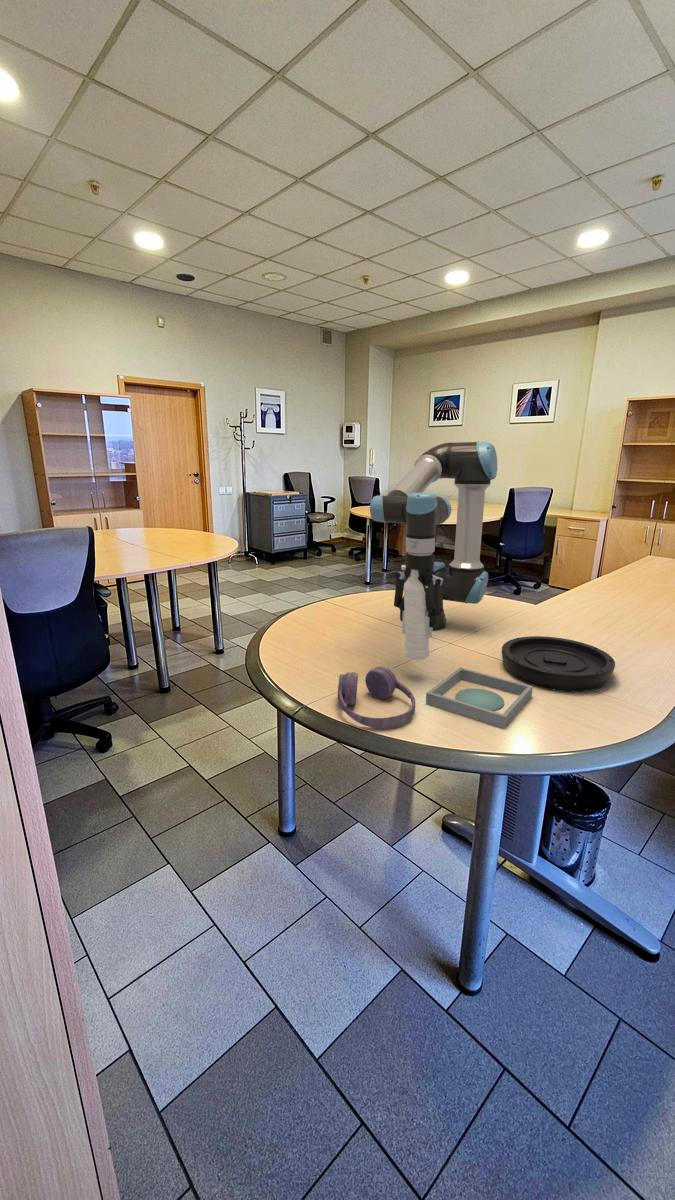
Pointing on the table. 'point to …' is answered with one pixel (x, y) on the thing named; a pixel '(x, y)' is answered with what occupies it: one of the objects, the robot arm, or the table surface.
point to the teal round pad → (481, 698)
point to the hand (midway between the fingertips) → (417, 634)
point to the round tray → (557, 663)
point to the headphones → (380, 686)
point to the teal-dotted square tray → (476, 712)
